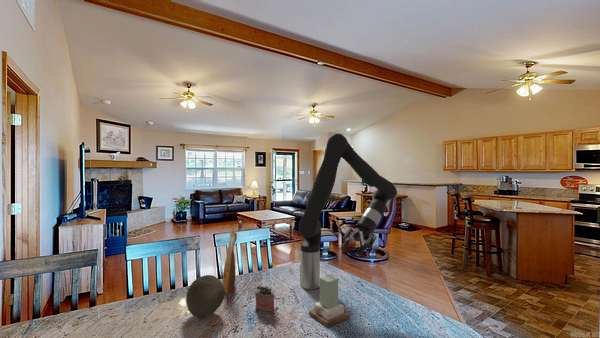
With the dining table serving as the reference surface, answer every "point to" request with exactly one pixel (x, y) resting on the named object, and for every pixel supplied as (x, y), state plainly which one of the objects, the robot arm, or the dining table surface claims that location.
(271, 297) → the lighter
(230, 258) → the pancake mix bag
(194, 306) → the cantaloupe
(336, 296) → the green post
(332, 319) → the build base
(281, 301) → the dining table surface
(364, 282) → the dining table surface
